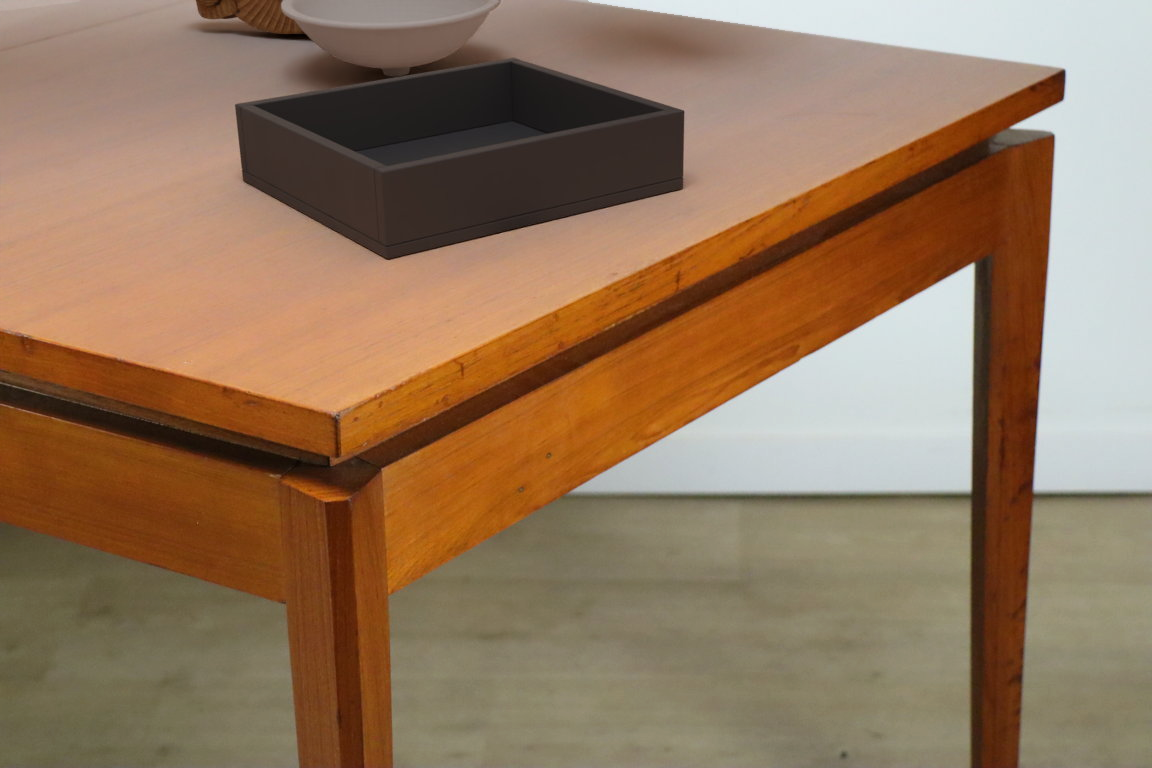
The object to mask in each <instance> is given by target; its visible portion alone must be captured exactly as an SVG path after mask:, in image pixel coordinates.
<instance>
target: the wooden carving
mask: <svg viewBox="0 0 1152 768" xmlns="http://www.w3.org/2000/svg"><path fill="white" fill-rule="evenodd" d="M282 1H283V0H195V3H196V8H197V12H198V14H199V16H200V17H201V18H202V19H208V20H220V19H221V20H230V19H236V18H237V19H239V20H240V21H242V22H244V23H245V24H247V25H248V26H250V27H251V28H255V29H257V30H261V31H263V32H267V33H271V34H276V35H277V34H279V35H293V34H294V35H306V33H305V32H304V31H303V30H302V29H301V28H300V27H299V26H298V24H297V23H296V21H295V20H294V19H291V18H289V17H288V16H286V15H285V14H284V13H283V12H282V9H281V3H282Z"/></svg>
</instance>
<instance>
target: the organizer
mask: <svg viewBox="0 0 1152 768" xmlns="http://www.w3.org/2000/svg"><path fill="white" fill-rule="evenodd" d="M234 108H235V119H236V129H237V137H238V138H237V139H238V147H239V148H238V149H239V155H240V156H239V157H240V167H241V174H242V181H244V182H245V183H247V184H249V185H251V186H253V187H254V188H257V189H258V190H260V191H261V192H264V193H266V194H267V195H270V196H271V197H273V198H275V200H278V201H279V202H282V203H284V204H286V205H287V206H288V207H289V206H290V208H293V209H295V210H297V211H299V212H300V213H302V214H304V215H305V216H307V217H310V218H312V219H313V220H315V221H317V222H318V223H320V224H322V225H324V226H326V227H329V228H330V229H331V230H334V231H335V232H337V233H339V234H341V235H343V236H345V237H346V238H348V239H350V240H352V241H354V242H356V243H357V244H359V245H360V246H363V247H365V248H366V249H368V250H370V251H372V252H374V253H376V254H378V255H379V256H380V257H383V258H385V259H386V260H390V259H393V258H398V257H402V256H407V255H411V254H415V253H419V252H422V251H428V250H432V249H435V248H439V247H444V246H449V245H452V244H457V243H461V242H465V241H469V240H473V239H477V238H482V237H486V236H490V235H494V234H498V233H502V232H508V231H511V230H514V229H519V228H523V227H528V226H531V225H535V224H540V223H545V222H548V221H552V220H556V219H561V218H565V217H568V216H574V215H577V214H581V213H586V212H590V211H594V210H599V209H602V208H603V209H604V208H607V207H611V206H615V205H620V204H624V203H627V202H632V201H636V200H640V199H644V198H645V199H646V198H649V197H653V196H657V195H661V194H665V193H670V192H674V191H679V190H683V189H684V160H685V159H684V155H685V154H684V153H685V152H684V151H685V150H684V149H685V110H684V109H680V108H677V107H674V106H671V105H667V104H666V103H665V104H664V103H661V102H658V101H656V100H655V101H654V100H651V99H648V98H645V97H642V96H638V95H635V94H633V93H629V92H626V91H624V90H623V91H622V90H619V89H616V88H612V87H609V86H607V85H603V84H601V83H597V82H593V81H590V80H587V79H584V78H580V77H577V76H574V75H571V74H567V73H564V72H561V71H558V70H555V69H551V68H548V67H545V66H541V65H538V64H535V63H532V62H529V61H527V60H526V61H525V60H522V59H519V58H516V57H509V58H504V59H498V60H492V61H486V62H479V63H473V64H468V65H462V66H455V67H449V68H444V69H438V70H431V71H425V72H418V73H414V74H413V73H412V74H406V75H401V76H394V77H389V78H383V79H377V80H371V81H366V82H360V83H353V84H349V85H348V84H347V85H341V86H335V87H330V88H324V89H317V90H311V91H305V92H300V93H299V92H298V93H295V94H288V95H281V96H276V97H269V98H263V99H258V100H251V101H246V102H239V103H236V104H234Z"/></svg>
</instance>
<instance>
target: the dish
mask: <svg viewBox="0 0 1152 768" xmlns="http://www.w3.org/2000/svg"><path fill="white" fill-rule="evenodd" d="M501 1H502V0H283V1H282V3H281V9H282V12H283V13H284V14H285V15H286V16H288V17H289V18H291V19H294V20H295V21H296V23H297V24H298V26H299V27H300V28H301V29H302V30H303V31H304V32H305V33H306V34H305V35H306V36H307V37H308V38H309V39H310V40H311V41H312V42H313V43H314V44H316V45H317V46H318V47H319V48H321V50H323V51H325V53H327V54H329V55H331V56H332V57H334V58H336V59H338V60H340V61H343V62H346V63H349V64H352V65H355V66H359V67H365V68H371V69H381V70H382V73H383V74H384V76H390V77H401V76H407V75H409V74H410V70H411V68H413V67H419V66H424V65H428V64H431V63H434V62H437V61H440V60H442V59H445V58H446V57H448V56H450V55H452V54H454V53H456V52H457V51H458V50H459V49H461V48H462V47H463V46H464V45H465V44H466V43H467V42H468V41H469V40H470V39H471V38H472V37H474V35H475V34H476V33H477V32H478V30H479V29H480V28H481V26H482V25H484V22H485V20H487V17H488V16H489V13H491V12H492V11H493V10H495V9H497V8H498V7H499V6H500V4H501Z"/></svg>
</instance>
